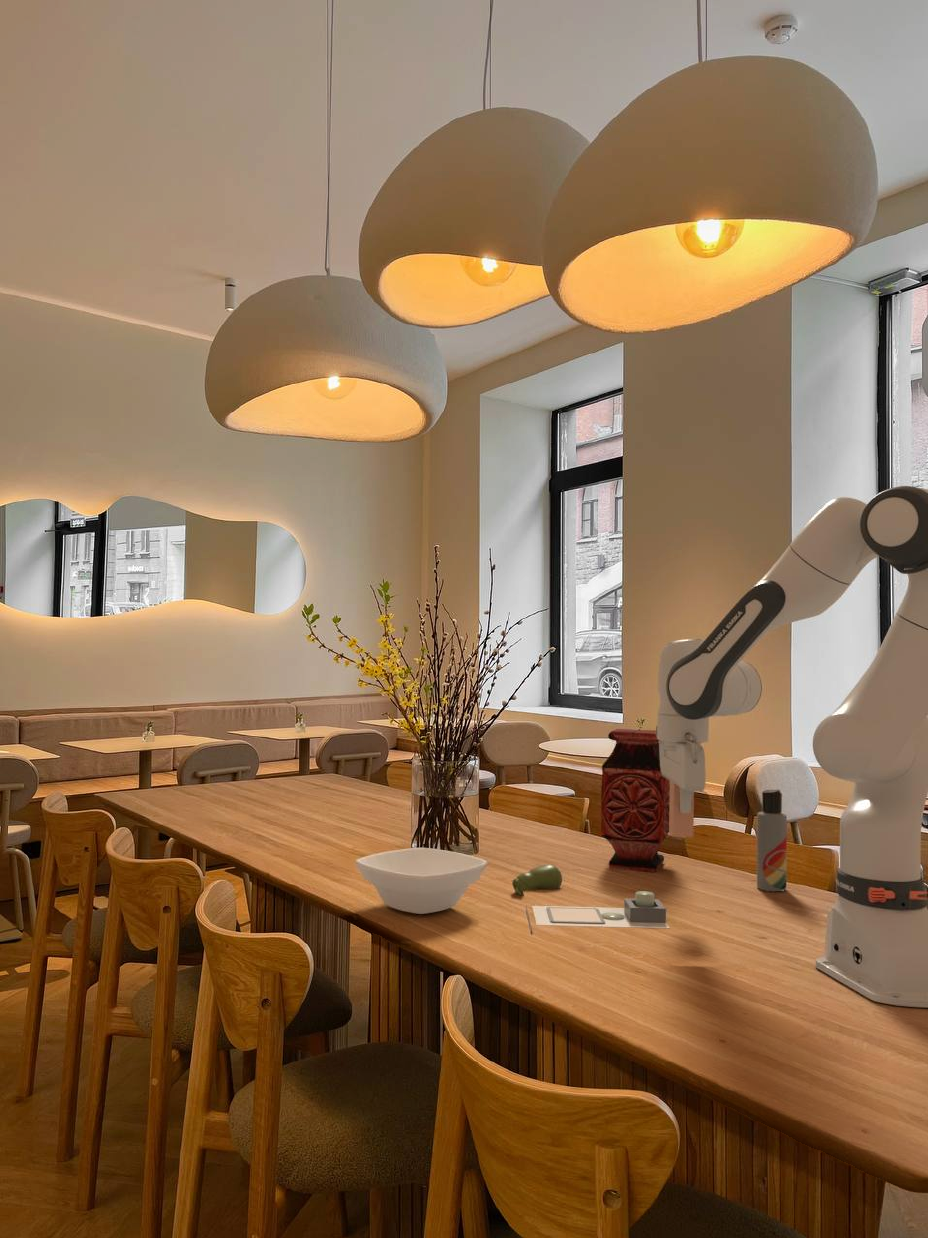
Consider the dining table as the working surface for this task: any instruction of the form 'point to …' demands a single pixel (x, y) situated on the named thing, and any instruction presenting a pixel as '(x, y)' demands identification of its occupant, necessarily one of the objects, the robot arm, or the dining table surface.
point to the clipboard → (586, 917)
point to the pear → (538, 879)
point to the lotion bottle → (771, 843)
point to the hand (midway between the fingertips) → (681, 810)
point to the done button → (644, 899)
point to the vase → (635, 801)
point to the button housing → (645, 912)
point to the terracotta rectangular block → (679, 815)
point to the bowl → (421, 877)
